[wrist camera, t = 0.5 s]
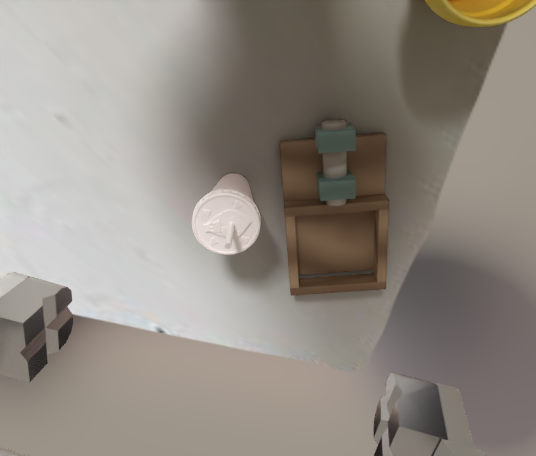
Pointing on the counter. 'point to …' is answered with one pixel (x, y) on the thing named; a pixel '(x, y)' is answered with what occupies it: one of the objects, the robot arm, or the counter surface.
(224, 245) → the smoothie
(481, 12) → the plant pot
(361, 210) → the brown wooden tray
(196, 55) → the counter surface
